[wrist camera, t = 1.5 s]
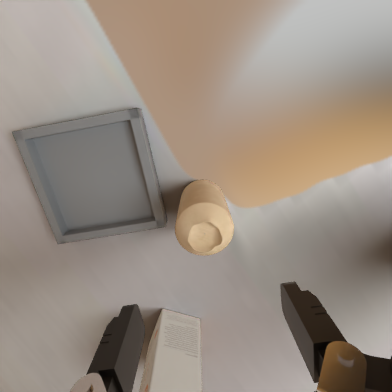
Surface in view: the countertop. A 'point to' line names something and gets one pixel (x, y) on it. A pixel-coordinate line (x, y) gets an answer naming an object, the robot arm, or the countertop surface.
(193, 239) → the candle
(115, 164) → the rest tray
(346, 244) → the countertop surface
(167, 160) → the countertop surface
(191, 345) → the small box
